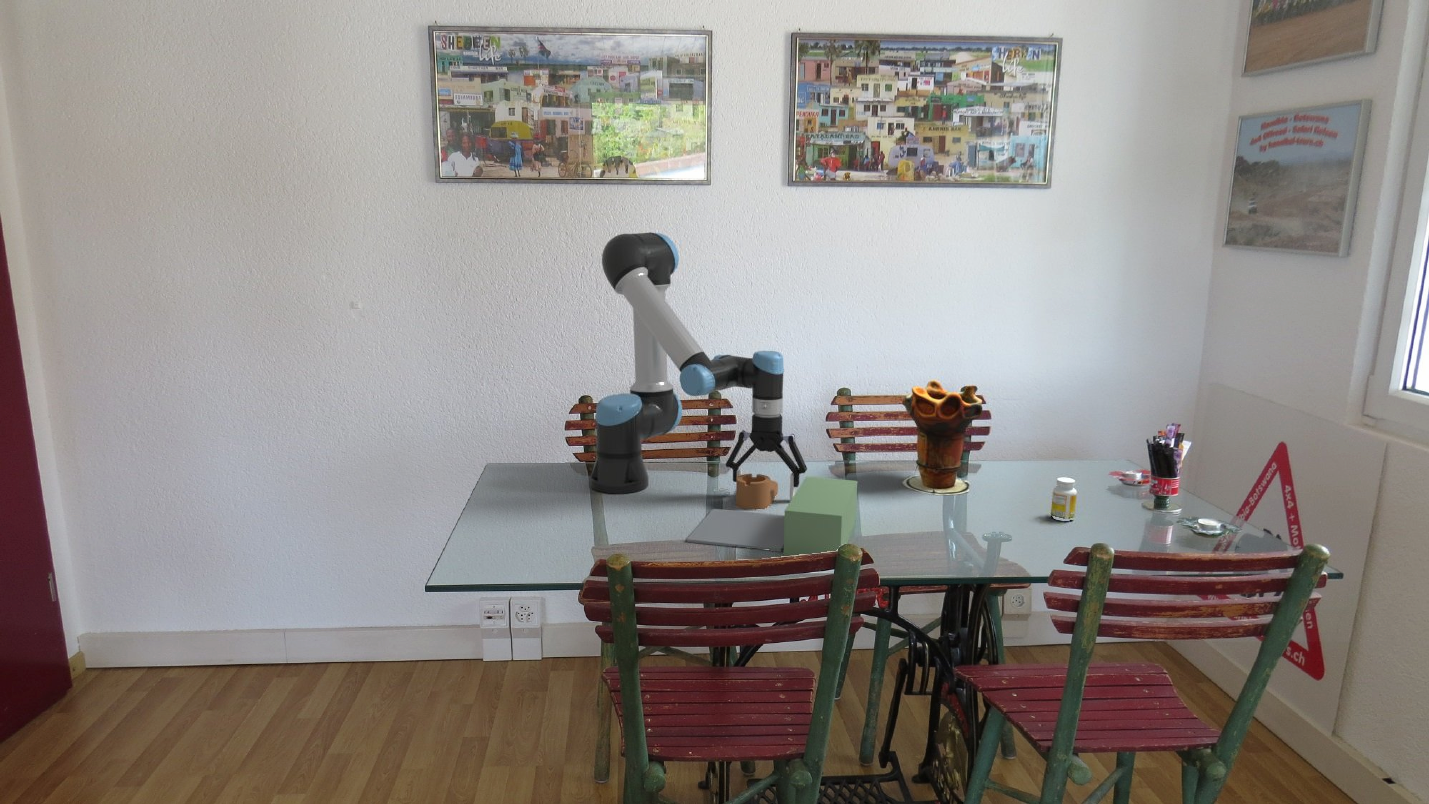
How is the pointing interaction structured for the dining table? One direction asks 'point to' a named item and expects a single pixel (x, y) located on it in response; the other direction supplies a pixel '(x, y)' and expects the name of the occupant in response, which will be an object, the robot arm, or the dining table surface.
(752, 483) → the bracket
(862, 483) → the dining table surface
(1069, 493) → the supplement bottle
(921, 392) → the decorative vase
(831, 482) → the green cube on tray
